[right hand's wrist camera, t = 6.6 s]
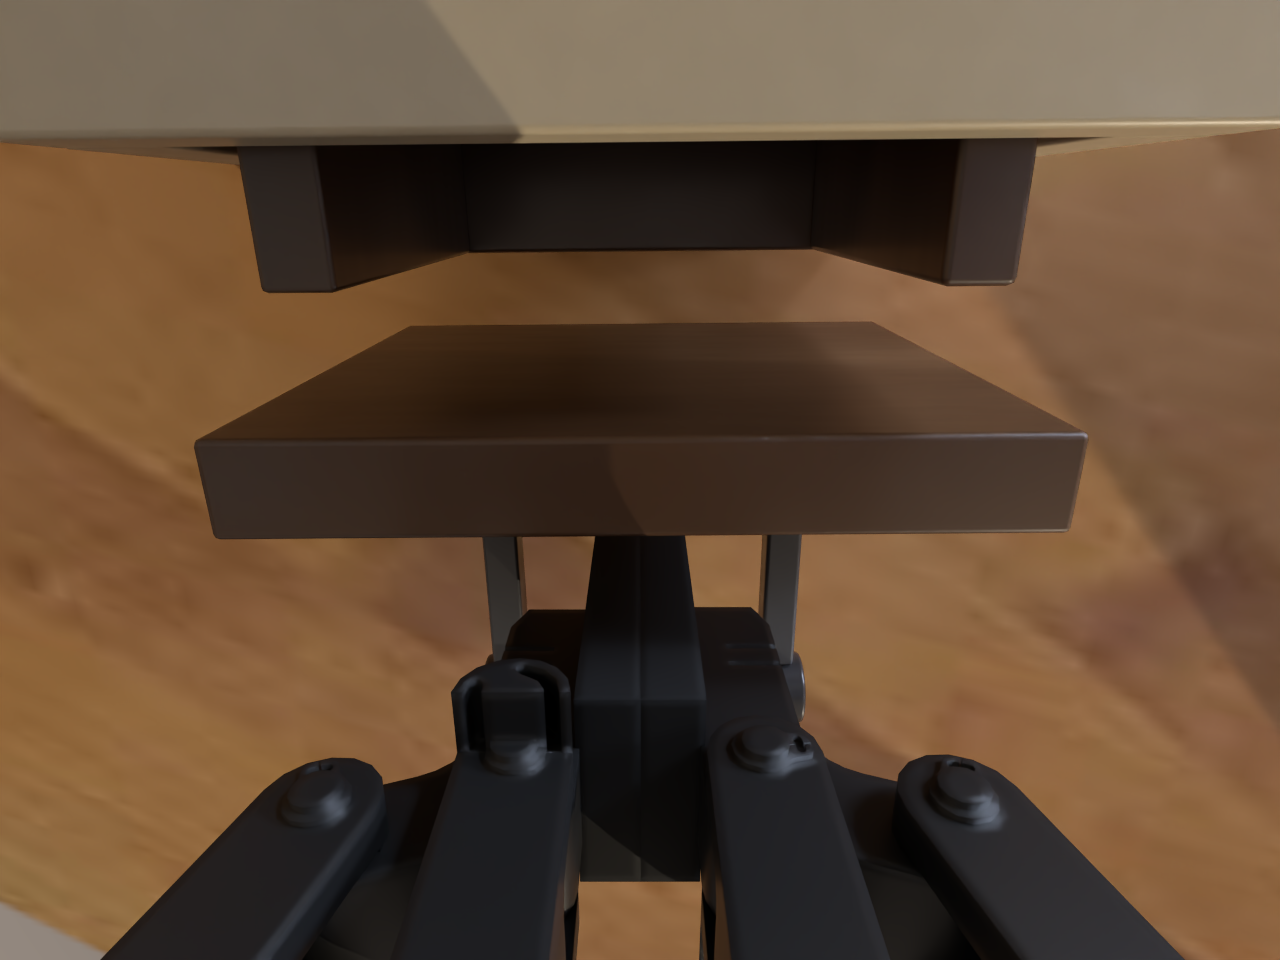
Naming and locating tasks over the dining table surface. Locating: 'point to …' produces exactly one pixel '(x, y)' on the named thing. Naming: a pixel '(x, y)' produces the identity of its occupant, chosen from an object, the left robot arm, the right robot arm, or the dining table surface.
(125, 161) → the dining table surface
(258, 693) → the dining table surface
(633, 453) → the drawer
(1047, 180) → the dining table surface
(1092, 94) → the beige drawer cabinet
